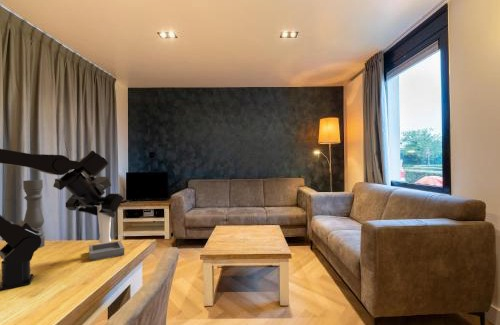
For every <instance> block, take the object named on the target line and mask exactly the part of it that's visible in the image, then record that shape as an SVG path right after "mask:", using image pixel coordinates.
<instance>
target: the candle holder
mask: <svg viewBox="0 0 500 325" xmlns="http://www.w3.org/2000/svg"><path fill="white" fill-rule="evenodd" d="M43 183H44V182H43V179H29V180H23V182H22V188H23V190H24V194H26V196H24V200H25V201H26V210H25V215H24V219H23V221H24V222H26V223H27V224H28V225H29V226H30V227H31V228H34V229H36V230H37V231H39V233H37V234H38V235H39V236H40V237H41V245H40V247H39V248H38V249H40V248H43V247H45V244H46V243H45V242H46V241H45V236H44V231H42V226H43V225H44V223H45V218H44V216H43V213H42V209H41V199H42V198H43V195H41V192H42V189H43V186H44V184H43Z"/></svg>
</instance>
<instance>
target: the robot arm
mask: <svg viewBox="0 0 500 325" xmlns="http://www.w3.org/2000/svg"><path fill="white" fill-rule="evenodd" d="M0 164H2V165H10V166H17V167H24V168H28V169H31V170H35V171H38V172H42V173H45V174H48V175H54V176H61V177H60V178H55V179H54V183H53V185H52V186H53V188H55V189H57V190H60V191H61V190H62V191H63V189H64V188H66V189H67V190H68V191H69V192H70V193H71V196H70V197H69V198H68V199H67V200H66V202H65V208H66V209H68V211H77V210H78V212H79V213H84V214H89V215H93V216H96V217H98V213H97V206H100V205H101V210H100V212H99V213H102V214H104V215H107V216H109V217H111V219H112V218H113V219H114V218H115V217H116V214H115V212H116V211H117V210H118V208H119V207H120V205H121V204H122V202H123V200H124V199H125V198H124V196H123V195H122V194H121V193H117V192H116V193H108V195H105V196H103V195H104V194H105V193H106V192H105V190H106V189H108V188H109V187H110V188H111V187H112V183H111V179H110V178H109V176H98V175H99V174H100V173H101V172H103V170H105V169H106V168H107V167H108V166H109V162H108V161H107V160H106V158H104V157H103V156H102V155H100V154H99V153H97V152H95V151H94V150H89V151H88V152H86V154H85V155H84V156H83V157H82V158H80V159H79V160H70V159H69V157H68V156H66V155H63V154H45V153H44V154H43V153H42V154H41V153H40V154H39V153H37V154H36V153H35V154H34V153H29V152H28V153H27V152H21V151H17V150H11V149H10V150H9V149H3V148H0ZM37 233H39V231H37V230H36V229H34V228H31V227H30V226H29V225H28V224H27V223H26V222H24V220H23V219H20V220H19V221H18V222H17V223H15V222H14V221H11V220H9V219H7V218H5V217H4V216H3V215H1V214H0V238H1V239H2V240H4V242H5V243H6V244H5V245H4V246H3V247H1V248H0V258H1V259H2V261H1V262H0V264H1V266H0V267H1V282H0V291H2V290H7V289H12V288H16V287H22V286H28V285H30V284H31V283H32V280H33V278H34V273H31V261H32V259H33V257H34V254H35V252H36V251H38V250H39V249H40V248H39V247H40V245H41V237H40V236H39V235H38V234H37Z"/></svg>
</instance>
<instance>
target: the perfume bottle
mask: <svg viewBox="0 0 500 325" xmlns="http://www.w3.org/2000/svg"><path fill="white" fill-rule="evenodd" d="M100 210H101V204H100V206H97V213H98V216H97V219H98V230H99V232H98V233H99V239H98V244H102V243H109V242H112V238H111V225H112V224H111V223H112V217H109V216H107V215H104V214H102V213H99V212H100Z"/></svg>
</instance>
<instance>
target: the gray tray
mask: <svg viewBox="0 0 500 325" xmlns="http://www.w3.org/2000/svg"><path fill="white" fill-rule="evenodd" d="M88 254H89V261H90V262H93V261H98V260H105V259H110V258H115V257H122V256H125V247H124V245H123V243H122V242H121V240H116V241H111V242H107V243H97V244H96V243H95V244H91V245H88Z"/></svg>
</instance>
